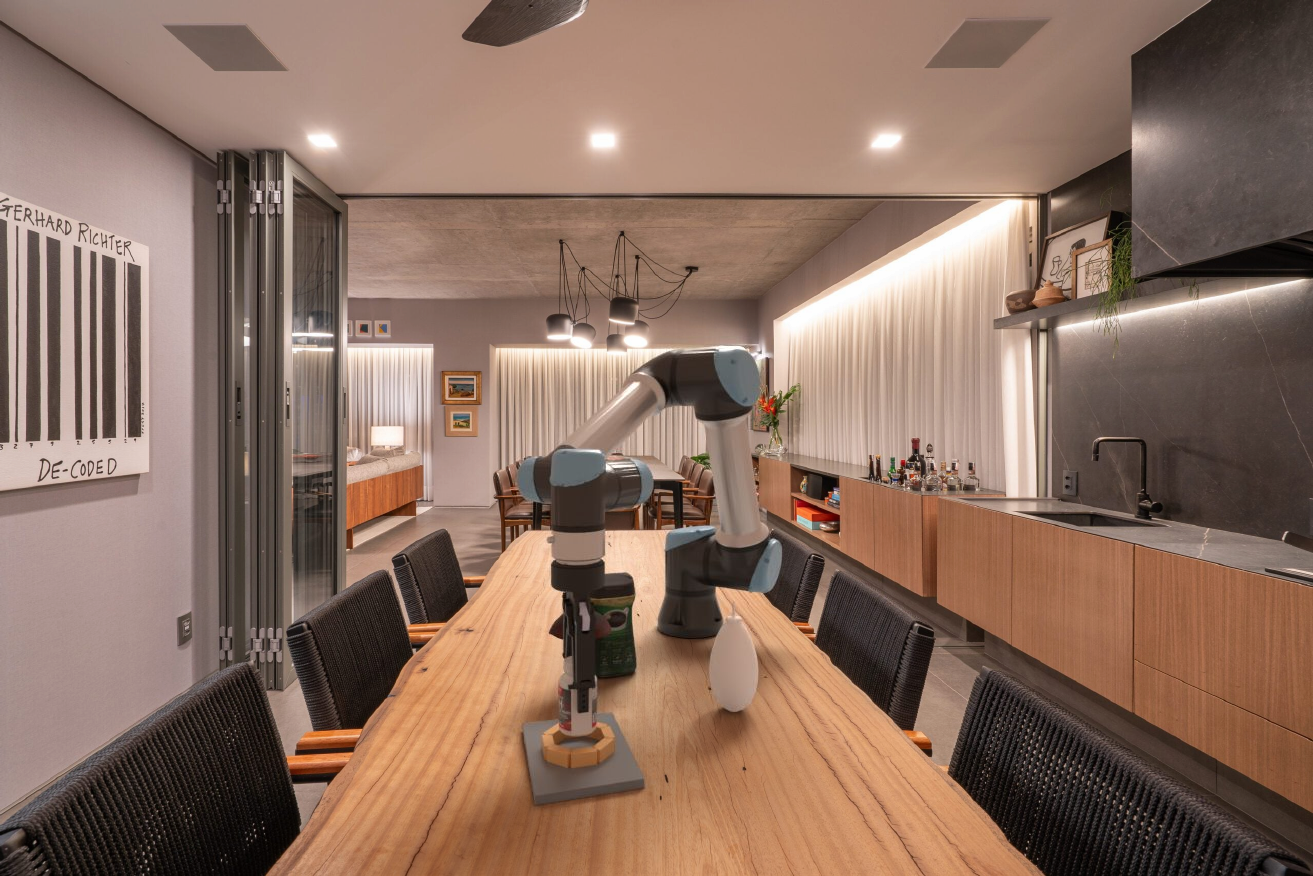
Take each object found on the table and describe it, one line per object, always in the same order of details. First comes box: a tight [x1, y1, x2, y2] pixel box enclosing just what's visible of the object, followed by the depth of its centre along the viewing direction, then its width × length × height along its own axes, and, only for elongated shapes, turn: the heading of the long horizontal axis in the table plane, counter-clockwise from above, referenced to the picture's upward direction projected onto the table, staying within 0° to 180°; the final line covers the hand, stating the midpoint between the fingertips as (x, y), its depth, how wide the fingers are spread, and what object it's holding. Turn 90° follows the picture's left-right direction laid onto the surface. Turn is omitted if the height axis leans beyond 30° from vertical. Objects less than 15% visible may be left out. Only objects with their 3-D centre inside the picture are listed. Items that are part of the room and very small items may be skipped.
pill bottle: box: [558, 656, 598, 736], centre depth 91 cm, size 5×5×10 cm
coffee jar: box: [589, 571, 638, 679], centre depth 123 cm, size 10×8×19 cm
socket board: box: [521, 711, 646, 806], centre depth 91 cm, size 14×20×3 cm
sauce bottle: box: [708, 601, 759, 713], centre depth 106 cm, size 8×8×18 cm
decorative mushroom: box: [548, 611, 612, 641], centre depth 113 cm, size 11×11×15 cm
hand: (578, 722), depth 91 cm, fingers closed on pill bottle, 5 cm apart
